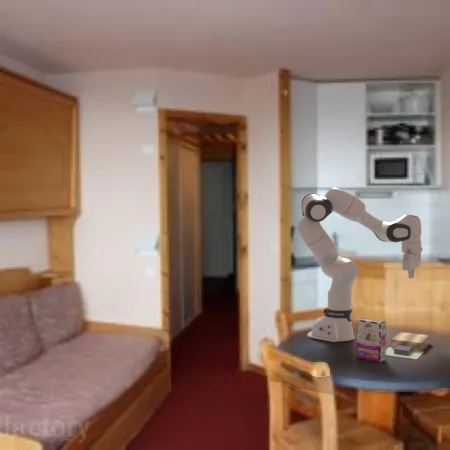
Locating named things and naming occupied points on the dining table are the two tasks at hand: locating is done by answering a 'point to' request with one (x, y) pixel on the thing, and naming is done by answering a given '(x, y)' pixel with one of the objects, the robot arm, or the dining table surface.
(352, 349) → the dining table surface
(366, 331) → the candy bar box
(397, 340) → the square wooden plank
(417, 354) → the mat
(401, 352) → the grey flat block
